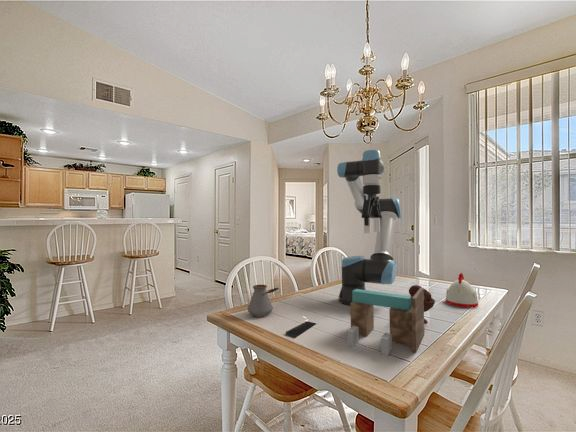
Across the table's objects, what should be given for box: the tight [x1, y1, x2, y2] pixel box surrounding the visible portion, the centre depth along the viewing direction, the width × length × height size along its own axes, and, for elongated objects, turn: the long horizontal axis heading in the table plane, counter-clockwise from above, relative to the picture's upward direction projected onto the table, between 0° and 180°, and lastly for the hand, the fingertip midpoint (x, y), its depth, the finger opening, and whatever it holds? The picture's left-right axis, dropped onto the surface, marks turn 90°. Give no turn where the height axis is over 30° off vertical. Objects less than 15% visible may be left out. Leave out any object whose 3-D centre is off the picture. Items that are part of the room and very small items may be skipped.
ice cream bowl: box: [408, 284, 436, 325], centre depth 120 cm, size 11×11×15 cm
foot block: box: [349, 302, 375, 338], centre depth 108 cm, size 6×8×12 cm
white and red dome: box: [445, 272, 479, 309], centre depth 144 cm, size 14×14×15 cm
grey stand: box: [347, 326, 393, 357], centre depth 94 cm, size 13×5×6 cm, turn 56°
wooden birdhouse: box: [389, 287, 425, 354], centre depth 99 cm, size 9×16×18 cm, turn 146°
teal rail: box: [352, 289, 412, 311], centre depth 104 cm, size 20×4×9 cm, turn 56°
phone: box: [285, 321, 317, 339], centre depth 111 cm, size 8×1×15 cm
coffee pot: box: [247, 284, 280, 318], centre depth 127 cm, size 21×12×15 cm, turn 35°
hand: (372, 232), depth 129 cm, fingers open, 13 cm apart
